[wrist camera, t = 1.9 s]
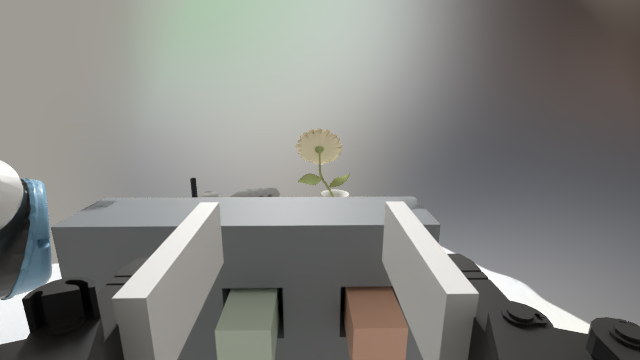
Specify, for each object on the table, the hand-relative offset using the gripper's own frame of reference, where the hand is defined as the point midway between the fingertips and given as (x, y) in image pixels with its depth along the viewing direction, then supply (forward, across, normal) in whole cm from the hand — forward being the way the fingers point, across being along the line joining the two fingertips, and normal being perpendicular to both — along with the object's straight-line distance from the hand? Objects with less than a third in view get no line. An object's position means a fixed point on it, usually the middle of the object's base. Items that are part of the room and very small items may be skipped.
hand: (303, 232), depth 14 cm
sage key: (+14, -5, -17) cm, 22 cm away
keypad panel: (+19, -5, -26) cm, 33 cm away
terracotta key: (+14, +6, -17) cm, 23 cm away
